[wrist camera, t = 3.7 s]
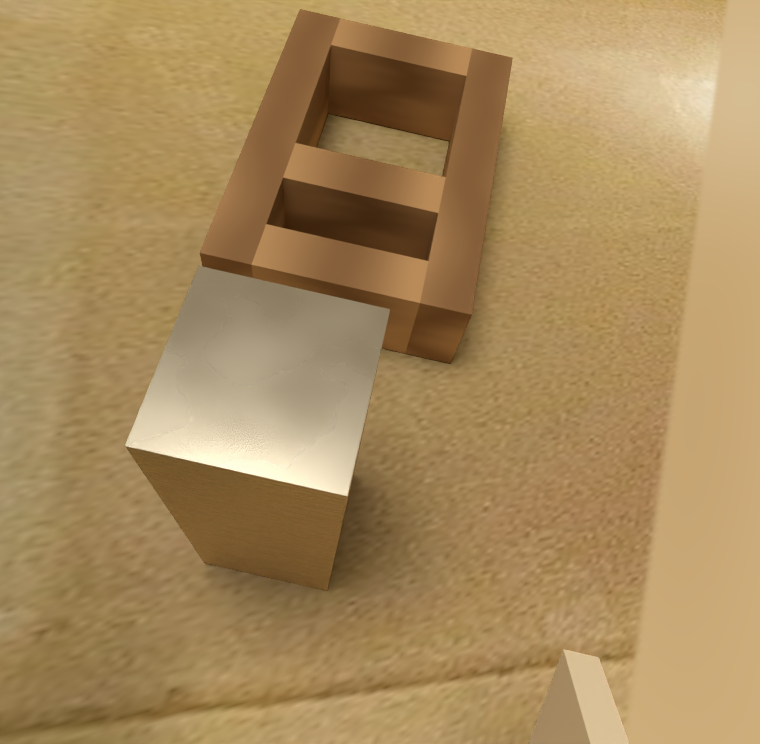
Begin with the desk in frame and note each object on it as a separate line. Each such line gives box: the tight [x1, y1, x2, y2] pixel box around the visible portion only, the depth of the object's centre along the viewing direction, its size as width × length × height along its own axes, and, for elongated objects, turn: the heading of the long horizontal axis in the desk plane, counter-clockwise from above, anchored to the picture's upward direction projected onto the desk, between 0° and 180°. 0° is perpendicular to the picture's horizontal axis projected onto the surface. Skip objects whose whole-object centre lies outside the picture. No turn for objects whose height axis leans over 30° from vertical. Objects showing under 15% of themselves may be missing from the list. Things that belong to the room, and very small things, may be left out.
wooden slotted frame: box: [200, 9, 513, 364], centre depth 30 cm, size 10×15×4 cm
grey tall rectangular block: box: [125, 266, 390, 591], centre depth 19 cm, size 4×4×12 cm
